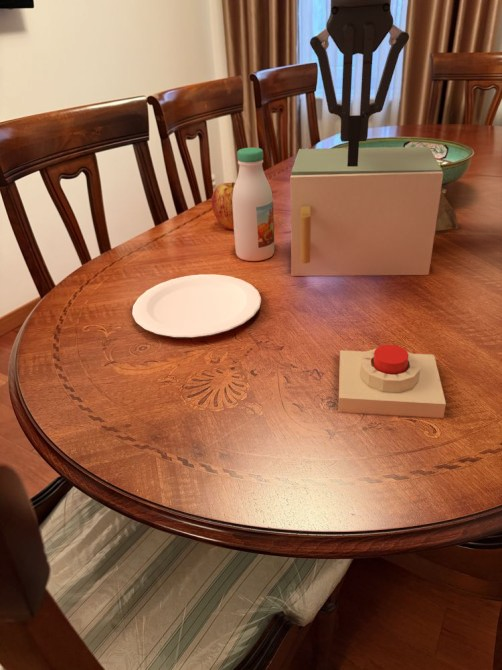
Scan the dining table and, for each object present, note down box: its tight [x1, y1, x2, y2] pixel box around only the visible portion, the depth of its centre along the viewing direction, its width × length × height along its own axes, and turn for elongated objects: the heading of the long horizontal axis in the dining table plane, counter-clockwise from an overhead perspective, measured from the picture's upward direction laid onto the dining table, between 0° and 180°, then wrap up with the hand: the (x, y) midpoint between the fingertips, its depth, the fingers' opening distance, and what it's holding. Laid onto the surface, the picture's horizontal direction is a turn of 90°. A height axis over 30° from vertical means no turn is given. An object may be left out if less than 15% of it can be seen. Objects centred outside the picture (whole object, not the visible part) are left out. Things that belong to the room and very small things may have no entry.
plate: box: [131, 273, 262, 339], centre depth 84 cm, size 21×21×2 cm
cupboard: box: [290, 146, 443, 176], centre depth 96 cm, size 16×24×18 cm, turn 81°
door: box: [289, 170, 444, 277], centre depth 86 cm, size 6×24×18 cm, turn 85°
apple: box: [211, 181, 236, 231], centre depth 114 cm, size 9×9×10 cm
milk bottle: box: [232, 147, 275, 262], centre depth 97 cm, size 8×8×20 cm
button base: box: [337, 347, 447, 419], centre depth 64 cm, size 12×10×4 cm
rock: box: [434, 191, 459, 236], centre depth 105 cm, size 11×9×10 cm
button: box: [373, 344, 409, 375], centre depth 63 cm, size 4×4×2 cm
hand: (352, 163), depth 77 cm, fingers closed
